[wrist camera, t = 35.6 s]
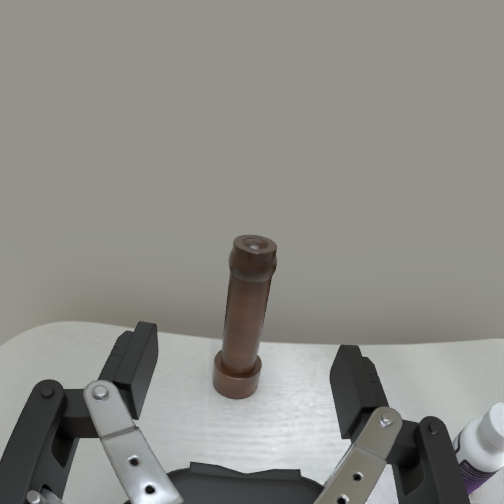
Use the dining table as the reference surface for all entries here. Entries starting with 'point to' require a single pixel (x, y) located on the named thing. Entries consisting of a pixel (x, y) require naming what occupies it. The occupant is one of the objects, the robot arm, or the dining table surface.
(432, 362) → the dining table surface
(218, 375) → the brown rolling pin handle
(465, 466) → the pill bottle
